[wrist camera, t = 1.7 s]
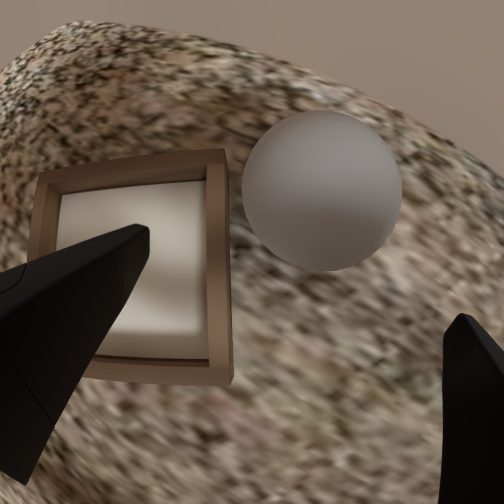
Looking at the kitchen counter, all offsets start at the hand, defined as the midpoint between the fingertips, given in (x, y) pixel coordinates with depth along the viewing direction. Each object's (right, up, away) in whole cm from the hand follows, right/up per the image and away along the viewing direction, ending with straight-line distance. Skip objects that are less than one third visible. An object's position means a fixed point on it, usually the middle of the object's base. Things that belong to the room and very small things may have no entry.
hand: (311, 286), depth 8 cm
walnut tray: (-9, 0, +11) cm, 15 cm away
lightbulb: (+1, +2, +12) cm, 12 cm away
